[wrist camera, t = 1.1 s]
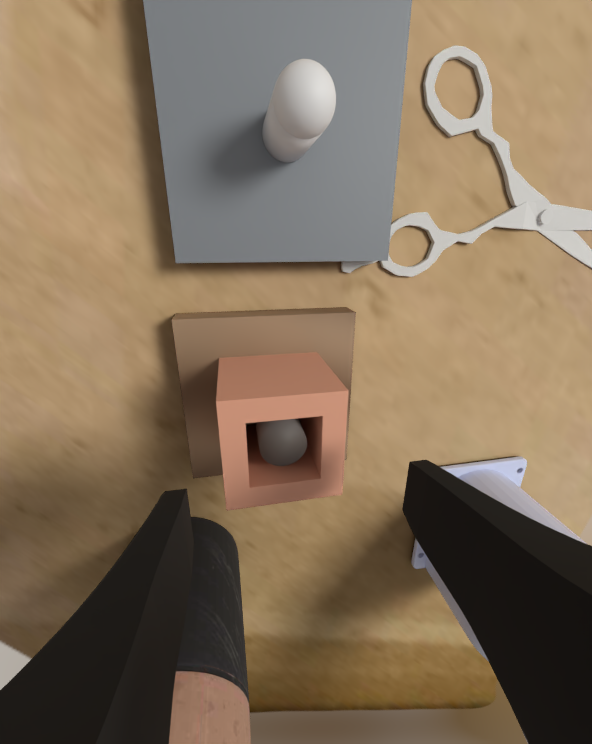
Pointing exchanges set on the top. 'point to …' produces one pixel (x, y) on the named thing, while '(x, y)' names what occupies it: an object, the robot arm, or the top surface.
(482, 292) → the top surface
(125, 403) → the top surface
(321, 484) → the collar
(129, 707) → the robot arm
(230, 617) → the travel mug
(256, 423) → the stand
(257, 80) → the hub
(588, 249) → the scissors
